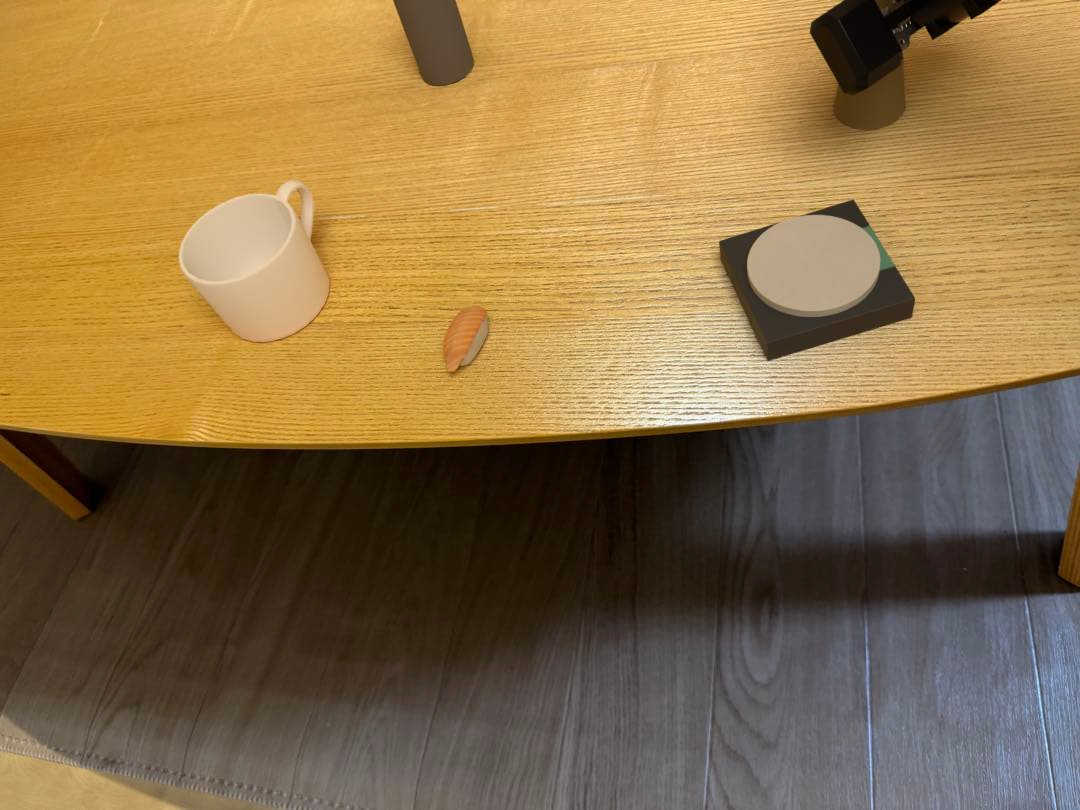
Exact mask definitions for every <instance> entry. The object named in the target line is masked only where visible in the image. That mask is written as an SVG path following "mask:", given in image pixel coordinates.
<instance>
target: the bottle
mask: <svg viewBox="0 0 1080 810" xmlns="http://www.w3.org/2000/svg"><path fill="white" fill-rule="evenodd" d="M392 1H393V4H394V7H395V9H396V13H397V15H398V18H399V20H400V24H401V25H402V29H403V31H404V34H405V36H406V39H407V42H408V44H409V47H410V50H411V52H412V55H413V58H414V60H415V64H416V66H417V69H418V71H419V73H420V76H421V78H422V80H423V81H424V82H425V83H427V84H429V85H431V86H447V85H451V84H454V83H457V82H458V81H460V80H462V79H464V78H465V77H466V76H468V75H469V74H470V72H471V71H472V69H473V68H474V66H475V65H474V64H475V60H474V59H475V58H474V56H473V52H472V48H471V46H470V43H469V39H468V35H467V32H466V28H465V25H464V22H463V19H462V16H461V14H460V10H459V7H458V4H457V0H392Z"/></svg>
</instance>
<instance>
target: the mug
mask: <svg viewBox="0 0 1080 810" xmlns="http://www.w3.org/2000/svg"><path fill="white" fill-rule="evenodd" d="M295 191H297V193H298V194H299V198H300V218H299V216H298V213H297V211H296V210H295V209H294V207H293V206H292V205H291V204H290V202H289V200H290V197H291V196H292V194H293V192H295ZM314 215H315V202H314V197H313V195H312V191H311V189H310V188H309V187H308V186H307V185H306V184H305V183H304V182H302V181H301V180H299V179H292V180H291V179H290V180H287V181H285V182H284V183H282V184H281V185H280V186H279V188H278V189H277V191H276V192H275V195H274V194H269V193H264V192H262V193H248V194H244V195H239V196H236V197H233V198H231V199H228V200H225V201H224V202H223V201H222V202H221V203H219V204H217V205H216V206H214V207H213V208H211V209H210V210H207V211H206V212H205V213H204V214H203V215H202V216H201V217H199V219H197V220H196V221H195V222H194V223H193V225H192V226H191V227H190V228H189V230H188V231H187V232H186V233H185V235H184V237H183V239H182V241H181V243H180V247H179V251H178V262H179V268H180V271H181V272H182V273H183V275H184V276H185V278H186V279H187V280H188V281H189V283H190V284H191V285H192V286H193V287H194V289H195V290H196V291H197V292H198V293H199V294H200V295H201V297H202V298H203V299H204V300H205V301H206V302H207V304H209V306H210V307H211V308H212V310H214V312H215V313H216V314H217V315H218V316H219V318H220V319H221V320H222V321H223V322H224V324H226V326H227V328H229V329H230V330H231V332H232V333H233V334H234V335H236V336H238V338H240V339H242V340H244V341H245V340H246V341H248V342H253V343H270V342H274V341H279V340H283V339H286V338H288V337H290V336H292V335H294V334H296V333H298V332H299V331H301V330H302V329H304V328H305V327H307V326H308V325H309V324H310V323H311V322H312V321H313V320H314V319H315V318H316V317H317V316H319V314H320V312H321V311H322V309H323V308H324V306H325V305H326V302H327V299H328V297H329V294H330V286H331V285H330V284H331V281H330V279H329V275H328V272H327V271H326V269H325V266H324V265H323V262H322V261H321V259H320V256H319V255H318V253H317V251H316V249H315V247H314V245H313V243H312V241H311V240H312V234H313V225H314V224H313V223H314V217H315V216H314Z"/></svg>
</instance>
